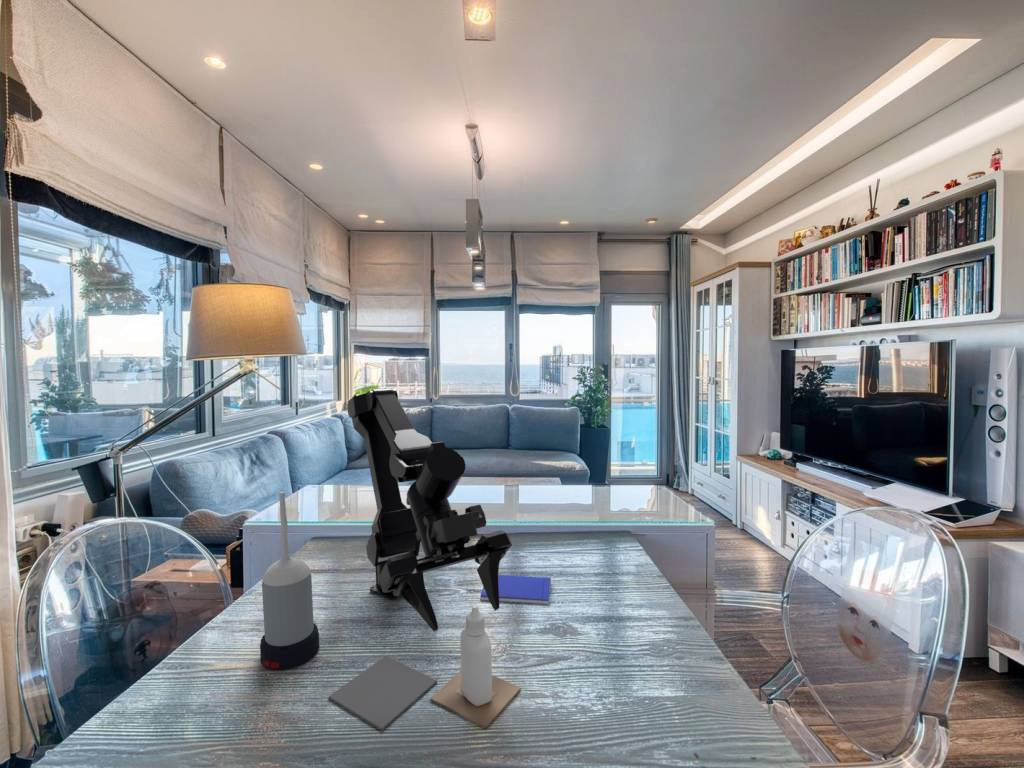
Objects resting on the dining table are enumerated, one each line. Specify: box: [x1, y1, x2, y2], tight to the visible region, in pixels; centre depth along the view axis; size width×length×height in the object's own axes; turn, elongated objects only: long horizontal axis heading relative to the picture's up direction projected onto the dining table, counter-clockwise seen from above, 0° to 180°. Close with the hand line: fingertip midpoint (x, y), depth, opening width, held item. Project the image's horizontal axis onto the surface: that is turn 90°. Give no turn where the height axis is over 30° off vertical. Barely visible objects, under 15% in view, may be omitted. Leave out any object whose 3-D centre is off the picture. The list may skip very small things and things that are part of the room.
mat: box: [328, 655, 438, 731], centre depth 67 cm, size 10×10×1 cm
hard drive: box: [479, 574, 552, 605], centre depth 93 cm, size 2×8×12 cm
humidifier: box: [259, 490, 320, 672], centre depth 74 cm, size 8×8×25 cm
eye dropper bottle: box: [459, 604, 493, 706], centre depth 65 cm, size 4×6×12 cm
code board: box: [429, 670, 522, 730], centre depth 66 cm, size 9×8×1 cm
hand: (467, 619), depth 67 cm, fingers open, 9 cm apart
